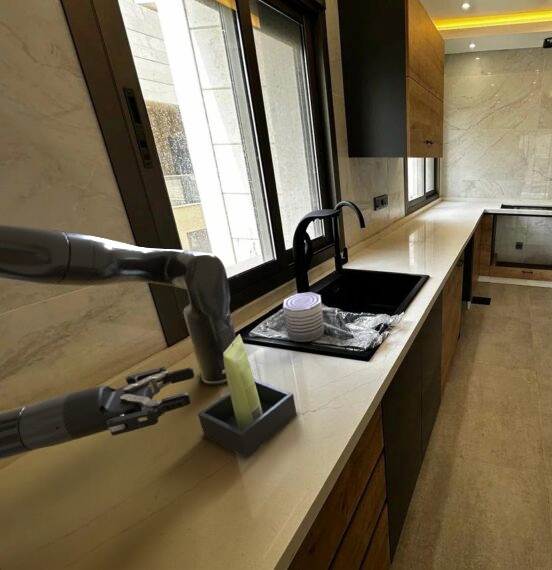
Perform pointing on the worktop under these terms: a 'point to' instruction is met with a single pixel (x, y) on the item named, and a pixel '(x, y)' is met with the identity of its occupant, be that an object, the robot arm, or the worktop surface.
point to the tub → (276, 414)
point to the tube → (241, 384)
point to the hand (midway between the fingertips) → (191, 384)
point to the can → (304, 316)
